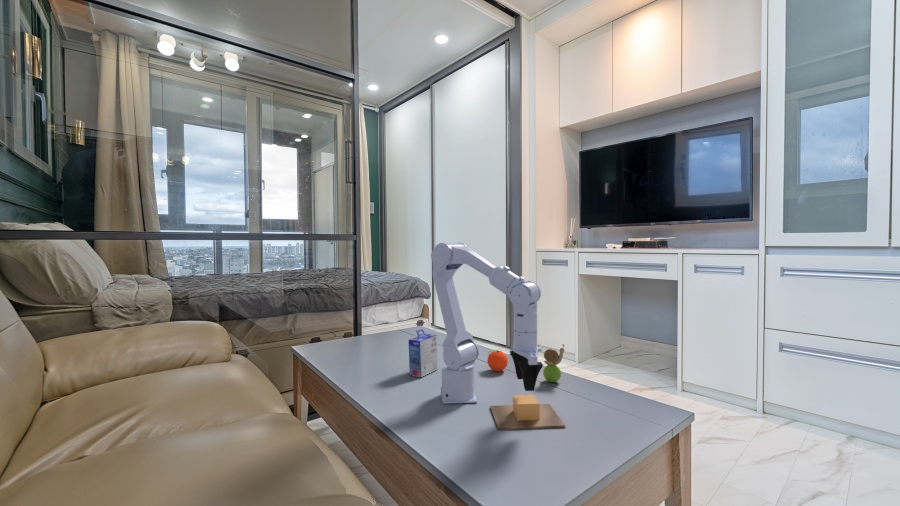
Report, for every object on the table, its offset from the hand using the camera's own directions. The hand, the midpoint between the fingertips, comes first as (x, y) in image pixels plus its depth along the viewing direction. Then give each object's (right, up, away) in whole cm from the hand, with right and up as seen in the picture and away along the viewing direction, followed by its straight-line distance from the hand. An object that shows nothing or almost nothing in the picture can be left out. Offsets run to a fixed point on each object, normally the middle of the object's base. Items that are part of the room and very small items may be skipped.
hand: (525, 384), depth 95 cm
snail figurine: (+14, -8, +24) cm, 29 cm away
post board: (0, -8, 0) cm, 8 cm away
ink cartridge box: (-28, -8, +34) cm, 44 cm away
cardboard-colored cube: (0, -8, 0) cm, 8 cm away
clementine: (-3, -8, +35) cm, 36 cm away
